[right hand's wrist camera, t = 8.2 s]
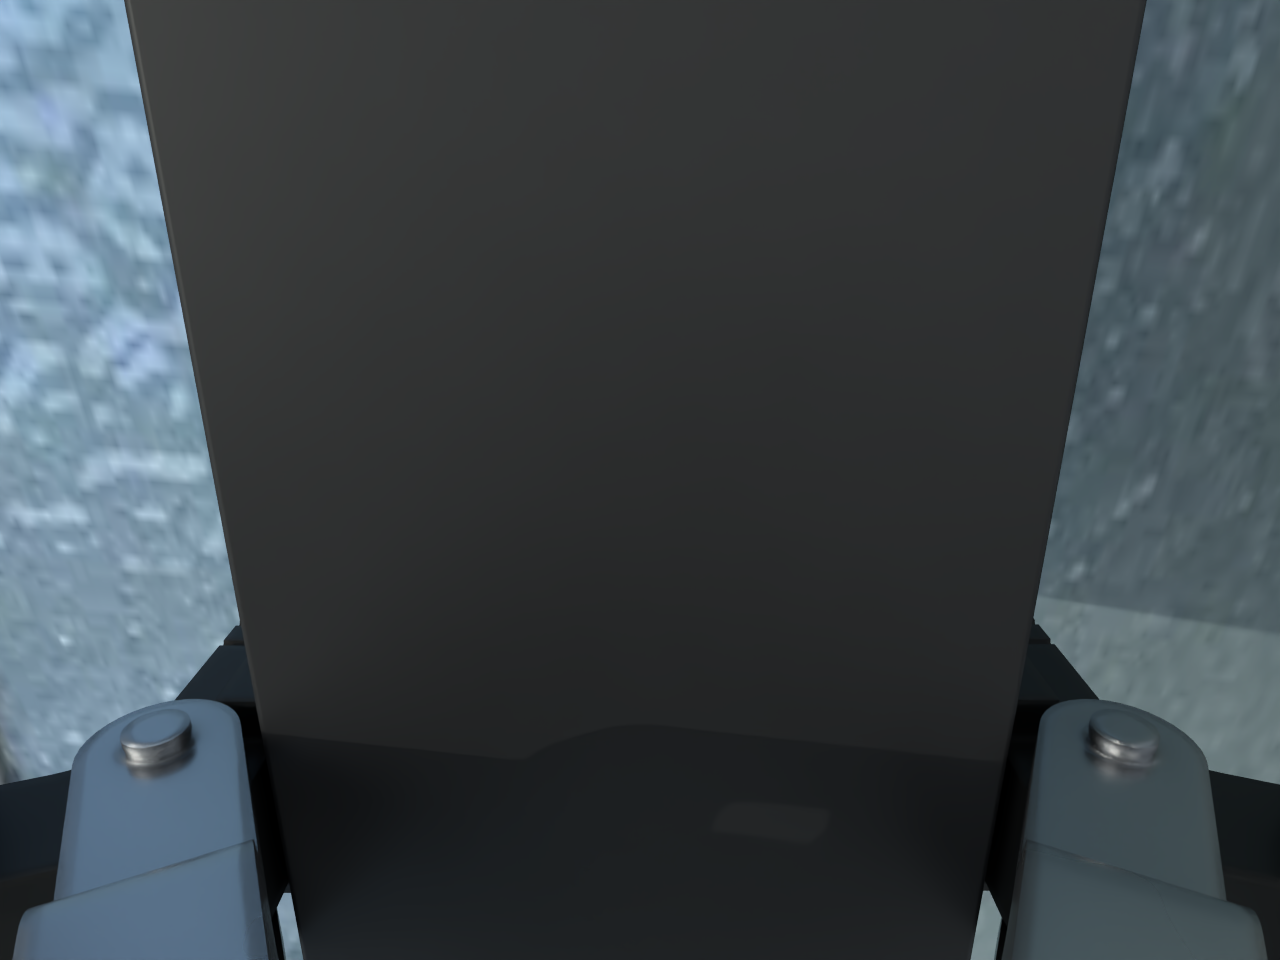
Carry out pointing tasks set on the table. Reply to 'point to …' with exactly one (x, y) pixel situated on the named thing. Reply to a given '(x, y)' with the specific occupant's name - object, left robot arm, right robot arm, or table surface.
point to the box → (636, 446)
